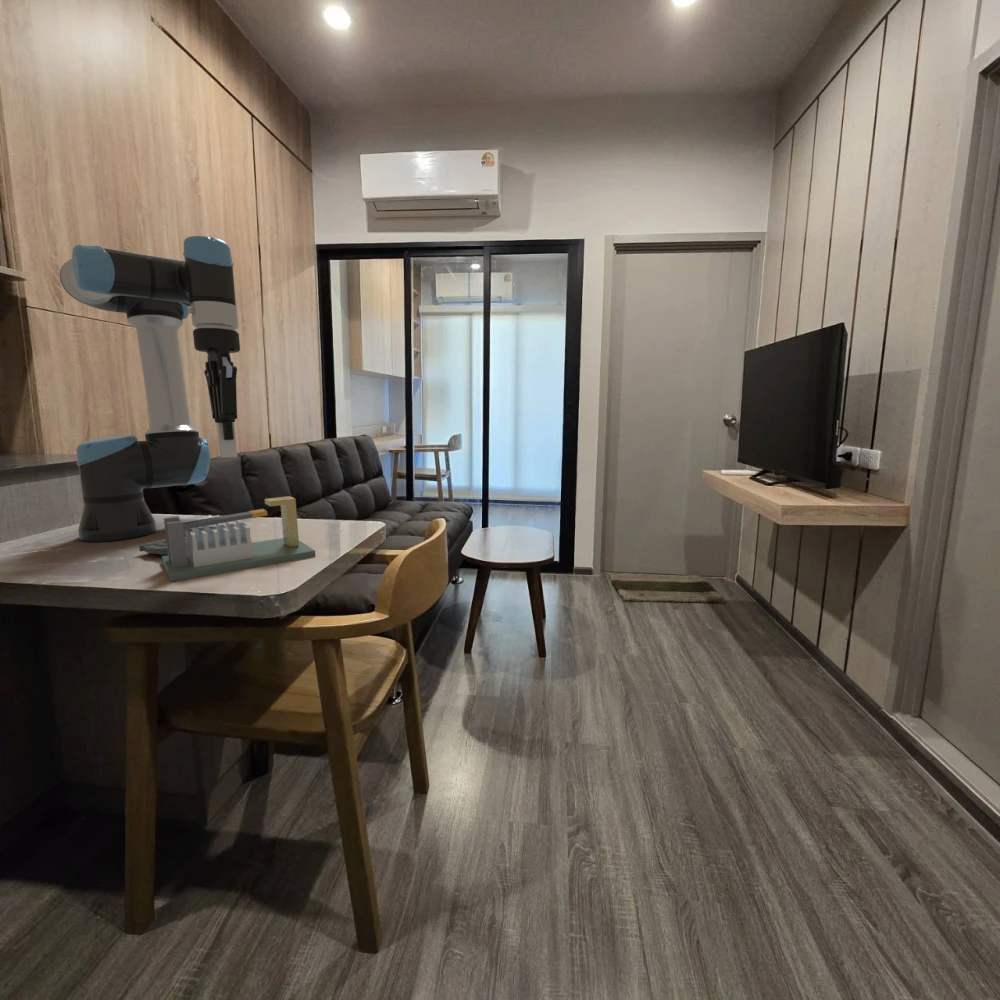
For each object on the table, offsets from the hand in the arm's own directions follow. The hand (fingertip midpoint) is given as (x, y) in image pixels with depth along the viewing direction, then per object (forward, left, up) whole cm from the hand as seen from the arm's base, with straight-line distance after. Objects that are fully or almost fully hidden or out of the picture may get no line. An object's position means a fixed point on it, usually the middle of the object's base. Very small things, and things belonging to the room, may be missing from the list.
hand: (228, 456), depth 100 cm
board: (0, 0, -21) cm, 21 cm away
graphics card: (-17, -7, -21) cm, 28 cm away
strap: (0, -3, -13) cm, 13 cm away
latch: (0, +9, -19) cm, 21 cm away
